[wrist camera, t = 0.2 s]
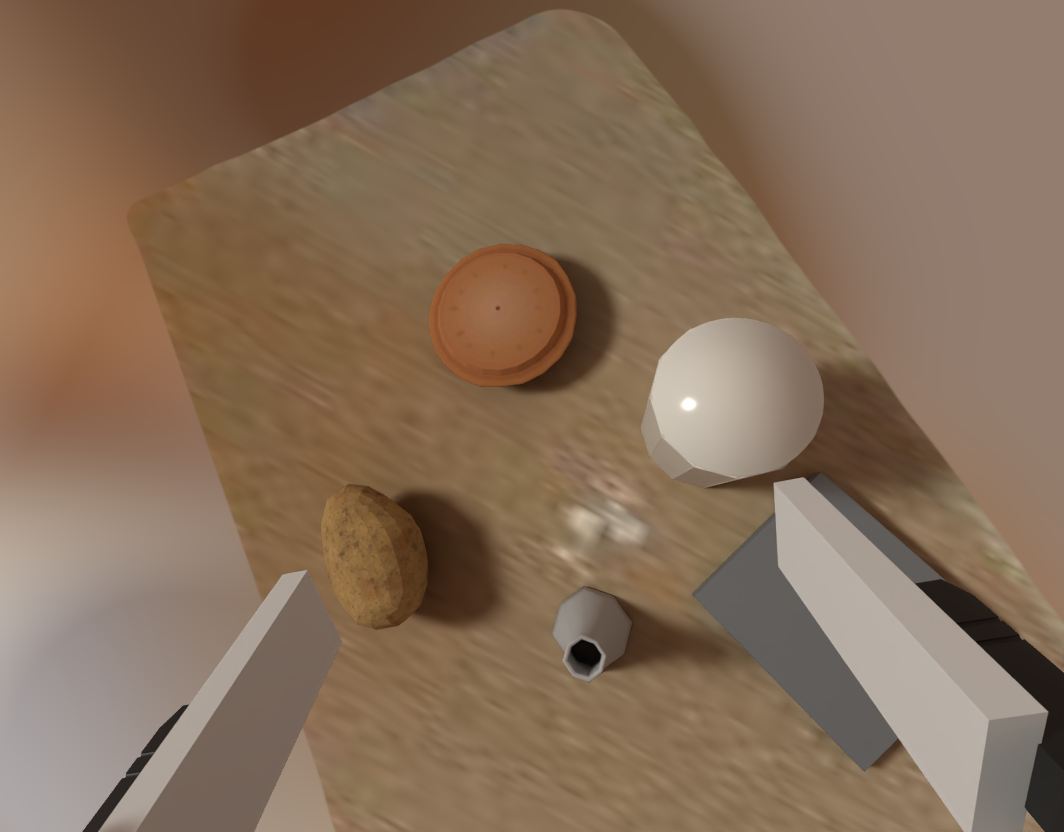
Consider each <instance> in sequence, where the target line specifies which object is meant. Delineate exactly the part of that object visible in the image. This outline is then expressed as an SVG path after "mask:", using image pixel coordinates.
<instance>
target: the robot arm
mask: <svg viewBox="0 0 1064 832" xmlns="http://www.w3.org/2000/svg"><path fill="white" fill-rule="evenodd" d="M774 498H775V516H776V535H777V553H778V567H779V568H780V570H781V571H782V573H783V574H784V575H785V577H786V578H787V580H788V581H789V583H790V584H791V585H792V587H793V588H794V590H795V591H796V593H797V594H798V595H799V597H800V598H801V600H802V601H803V603H804V604H805V605H806V607H807V608H808V610H809V611H810V613H811V614H812V615H813V617H814V618H815V620H816V621H817V623H818V624H819V625H820V627H821V628H822V630H823V631H824V633H825V634H826V635H827V637H828V638H829V640H830V641H831V643H832V644H833V645H834V647H835V648H836V650H837V651H838V653H839V654H840V655H841V657H842V658H843V660H844V661H845V663H846V664H847V665H848V667H849V668H850V670H851V671H852V673H853V674H854V675H855V677H856V678H857V680H858V681H859V683H860V684H861V685H862V687H863V688H864V690H865V691H866V693H867V694H868V695H869V697H870V698H871V700H872V701H873V703H874V704H875V705H876V707H877V708H878V710H879V711H880V713H881V714H882V715H883V717H884V718H885V720H886V721H887V723H888V724H889V725H890V727H891V728H892V730H893V731H894V733H895V734H896V735H897V737H898V738H899V740H900V741H901V743H902V744H903V745H904V747H905V748H906V750H907V751H908V753H909V754H910V755H911V757H912V758H913V760H914V761H915V763H916V764H917V765H918V767H919V768H920V770H921V771H922V773H923V774H924V775H925V777H926V778H927V780H928V781H929V783H930V784H931V785H932V787H933V788H934V790H935V791H936V793H937V794H938V795H939V797H940V798H941V800H942V801H943V803H944V804H945V805H946V807H947V808H948V810H949V811H950V813H951V814H952V815H953V817H954V818H955V820H956V821H957V823H958V824H959V825H960V827H961V828H962V830H963V831H964V832H1022V830H1023V825H1024V821H1025V816H1026V811H1028V812H1029V813H1030V814H1031V816H1032V817H1033V818H1034V819H1035V820H1036V822H1037V823H1038V824H1039V825H1040V826H1041V828H1042V829H1043V830H1044V831H1045V832H1064V673H1063V672H1062V671H1061V670H1060V669H1059V668H1058V667H1056V666H1055V665H1054V664H1053V663H1052V662H1051V661H1049V660H1048V659H1047V658H1046V657H1045V656H1044V655H1042V654H1041V653H1040V652H1039V651H1038V650H1037V649H1035V648H1034V647H1033V646H1032V645H1031V644H1029V643H1028V642H1027V641H1026V640H1025V639H1024V640H1022V639H1021V638H1020V636H1019V634H1018V633H1017V632H1015V631H1014V630H1013V629H1012V628H1011V627H1010V626H1008V625H1007V624H1006V623H1005V622H1004V621H1000V620H999V618H998V616H997V615H996V614H994V613H993V612H992V611H991V610H990V609H989V608H987V607H986V606H985V605H984V604H983V603H982V602H980V601H979V600H978V599H977V598H976V597H975V596H973V595H972V594H970V593H968V592H966V591H964V590H962V589H960V588H958V587H956V586H954V585H952V584H950V583H948V582H946V581H944V580H942V579H938V580H932V581H926V582H920V583H913V582H912V581H911V580H910V579H909V578H908V577H907V576H906V575H905V574H904V573H903V572H902V571H901V570H900V569H899V568H898V567H897V566H896V565H895V564H894V563H892V562H891V561H890V560H889V559H888V558H887V557H886V556H885V555H884V554H883V553H882V552H881V551H880V550H879V549H878V548H877V547H876V546H875V545H874V544H873V543H872V542H871V541H870V540H868V539H867V538H866V537H865V536H864V535H863V534H862V533H861V532H860V531H859V530H858V529H857V528H856V527H855V526H854V525H853V524H852V523H851V522H850V521H849V520H848V519H847V518H846V517H844V516H843V515H842V514H841V513H840V512H839V511H838V510H837V509H836V508H835V507H834V506H833V505H832V504H831V503H830V502H829V501H828V500H827V499H826V498H825V497H824V496H823V495H822V494H820V493H819V492H818V491H817V490H816V489H815V488H814V487H813V486H812V485H811V484H810V483H809V482H808V481H807V480H806V479H805V478H804V477H802V478H797V479H791V480H786V481H781V482H775V483H774ZM341 643H342V640H341V638H340V636H339V634H338V632H337V630H336V628H335V626H334V624H333V622H332V620H331V618H330V616H329V613H328V611H327V609H326V607H325V605H324V603H323V601H322V599H321V597H320V595H319V593H318V591H317V589H316V586H315V584H314V582H313V580H312V578H311V576H310V574H309V572H308V570H305V571H300V572H294V573H289V574H284V575H282V576H281V578H280V579H279V581H278V582H277V583H276V585H275V586H274V588H273V589H272V590H271V592H270V593H269V594H268V596H267V597H266V599H265V600H264V601H263V603H262V604H261V606H260V607H259V608H258V610H257V611H256V613H255V614H254V615H253V617H252V618H251V620H250V621H249V622H248V624H247V625H246V627H245V628H244V629H243V631H242V632H241V634H240V635H239V636H238V638H237V639H236V641H235V642H234V643H233V645H232V646H231V648H230V649H229V650H228V652H227V653H226V654H225V656H224V657H223V659H222V660H221V661H220V663H219V664H218V666H217V667H216V668H215V670H214V671H213V672H212V674H211V676H210V677H209V678H208V679H207V681H206V682H205V684H204V685H203V686H202V688H201V689H200V691H199V692H198V693H197V695H196V696H195V698H194V699H193V700H192V702H191V703H190V704H189V705H184V706H182V707H181V708H180V709H179V710H178V711H177V712H176V713H175V714H174V715H173V716H172V717H171V718H170V719H169V720H168V721H167V722H165V723H164V724H163V725H162V726H161V727H160V728H159V729H158V731H157V732H156V734H155V735H154V736H153V738H152V739H151V740H150V742H149V743H148V744H147V746H146V747H145V748H144V750H143V751H142V753H141V754H142V755H141V757H139V758H137V759H136V761H135V762H134V763H133V764H132V766H131V767H130V768H129V770H128V771H127V773H126V777H125V778H122V779H121V781H120V782H119V783H118V785H117V786H116V787H115V789H114V790H113V791H112V793H111V794H110V795H109V797H108V798H107V800H106V801H105V802H104V803H103V805H102V806H101V808H100V809H99V810H98V812H97V813H96V814H95V816H94V817H93V818H92V820H91V821H90V822H89V824H88V825H87V826H86V828H85V829H84V830H83V832H254V831H255V829H256V826H257V824H258V822H259V820H260V818H261V816H262V813H263V811H264V808H265V807H266V805H267V803H268V800H269V798H270V796H271V794H272V792H273V789H274V787H275V785H276V783H277V781H278V779H279V777H280V775H281V772H282V770H283V768H284V766H285V764H286V762H287V759H288V757H289V755H290V753H291V751H292V748H293V746H294V744H295V742H296V740H297V738H298V735H299V733H300V731H301V729H302V727H303V725H304V723H305V720H306V718H307V716H308V714H309V712H310V710H311V708H312V705H313V703H314V701H315V699H316V697H317V695H318V692H319V690H320V688H321V686H322V684H323V682H324V679H325V677H326V675H327V673H328V671H329V669H330V666H331V664H332V662H333V660H334V658H335V656H336V654H337V651H338V649H339V647H340V645H341Z"/></svg>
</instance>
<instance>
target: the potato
mask: <svg viewBox="0 0 1064 832" xmlns="http://www.w3.org/2000/svg"><path fill="white" fill-rule="evenodd" d="M321 529H322V544H323V551H324V558H325V563H326V567H327V572H328V577H329V580H330V583H331V586H332V589H333V592H334V595H335V596H336V598H337V599H338V600H339V602H340V603H341V605H342V606H343V607H344V609H345V610H346V611H347V612H348V614H349V615H350V616H351V617H352V618H353V619H354V621H355V622H356V623H357V624H359V625H362V626H365V627H369V628H372V629H375V630H377V629H383V628H388V627H394V626H398V625H400V624H401V623H403V622H404V621H405V620H406V619H407V618H408V617H409V616H410V615H411V614H412V613H413V612H414V611H415V610H417V608H418V607H419V606H420V605H421V604H422V601H423V597H424V594H425V591H426V587H427V575H428V559H427V553H426V548H425V544H424V540H423V537H422V533H421V530H420V528H419V527H418V526H417V524H416V523H415V521H414V519H413V517H412V516H411V515H410V514H409V513H408V512H406V511H405V510H404V509H402V508H401V507H400V506H398V505H397V504H396V503H394V502H393V501H392V500H391V499H389V498H388V497H387V496H385V495H384V494H382V493H380V492H378V491H376V490H374V489H372V488H370V487H369V486H362V485H353V484H348V485H347V486H345V487H344V488H342V489H341V490H339V491H338V492H337V493H335V494H334V495H332V496H331V497H329V498H328V500H327V503H326V507H325V510H324V514H323V517H322V521H321Z"/></svg>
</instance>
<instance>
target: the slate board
mask: <svg viewBox="0 0 1064 832" xmlns="http://www.w3.org/2000/svg"><path fill="white" fill-rule="evenodd" d="M807 481H808V482H809V483H810V484H811V485H812V486H813V487H814V488H815V489H816V490H817V491H818V492H819V493H820V494H822V495H823V496H824V497H825V498H826V499H827V500H828V501H829V502H830V503H831V504H832V505H833V506H834V507H835V508H836V509H837V510H838V511H839V512H840V513H841V514H842V515H843V516H844V517H846V518H847V519H848V520H849V521H850V522H851V523H852V524H853V525H854V526H855V527H856V528H857V529H858V530H859V531H860V532H861V533H862V534H863V535H864V536H865V537H866V538H867V539H868V540H870V541H871V542H872V543H873V544H874V545H875V546H876V547H877V548H878V549H879V550H880V551H881V552H882V553H883V554H884V555H885V556H886V557H887V558H888V559H889V560H890V561H891V562H892V563H894V564H895V565H896V566H897V567H898V568H899V569H900V570H901V571H902V572H903V573H904V574H905V575H906V576H907V577H908V578H909V579H910V580H911V581H912V582H913V583H920V582H926V581H932V580H938V579H942V580H944V581H946V580H945V579H944V578H942V577H941V576H940V575H939V574H938V573H937V572H936V571H934V570H933V569H932V568H931V567H930V566H929V565H927V564H926V563H925V562H924V561H923V560H922V559H921V558H919V557H918V556H917V555H916V554H915V553H914V552H913V551H911V550H910V549H909V548H908V547H907V546H906V545H905V544H903V543H902V542H901V541H900V540H899V539H898V538H897V537H895V536H894V535H893V534H892V533H891V532H890V531H889V530H887V529H886V528H885V527H884V526H883V525H882V524H881V523H879V522H878V521H877V520H876V519H875V518H874V517H872V516H871V515H870V514H869V513H868V512H867V511H866V510H864V509H863V508H862V507H861V506H860V505H859V504H858V503H856V502H855V501H854V500H853V499H852V498H851V497H850V496H848V495H847V494H846V493H845V492H844V491H843V490H842V489H840V488H839V487H838V486H837V485H836V484H835V483H834V482H832V481H831V480H830V479H829V478H828V477H827V476H825V475H824V474H823V473H822V472H818V473H814V474H813V475H812V476H811V477H810V478H809V479H808V480H807ZM946 582H947V581H946ZM692 595H693V596H694V597H695V598H696V599H697V600H698V601H699V602H700V603H701V604H702V605H703V606H704V607H705V608H706V609H707V610H708V611H709V612H710V614H711V615H712V616H713V617H714V618H715V619H716V620H717V621H718V622H719V623H720V624H721V625H722V626H723V627H724V628H725V629H726V630H727V631H728V632H729V633H730V634H731V635H732V636H733V637H734V638H735V639H736V640H737V641H738V642H739V643H740V644H741V645H742V646H743V647H744V649H745V650H746V651H747V652H748V653H749V654H750V655H751V656H752V657H753V658H754V659H755V660H756V661H757V662H758V663H759V664H760V665H761V666H762V667H763V668H764V669H765V670H766V671H767V672H768V673H769V674H770V675H771V676H772V677H773V678H774V679H775V680H776V681H777V682H778V684H779V685H780V686H781V687H782V688H783V689H784V690H785V691H786V692H787V693H788V694H789V695H790V696H791V697H792V698H793V699H794V700H795V701H796V702H797V703H798V704H799V705H800V706H801V707H802V708H803V709H804V710H805V711H806V712H807V713H808V714H809V715H810V716H811V717H812V719H813V720H814V721H815V722H816V723H817V724H818V725H819V726H820V727H821V728H822V729H823V730H824V731H825V732H826V733H827V734H828V735H829V736H830V737H831V738H832V739H833V740H834V741H835V742H836V743H837V744H838V745H839V746H840V747H841V748H842V749H843V750H844V751H845V753H846V754H847V755H848V756H849V757H850V758H851V759H852V760H853V761H854V762H855V763H856V764H857V765H858V766H859V767H860V768H861V769H862V770H863V771H864V772H865V771H866V770H867V769H868V768H869V767H870V766H871V765H872V764H873V763H874V762H875V761H876V760H877V759H878V758H879V757H880V756H881V755H882V754H883V753H884V752H885V751H886V750H887V749H888V748H889V747H890V746H891V745H892V744H893V743H894V742H895V741H896V740H897V739H898V737H897V735H896V734H895V733H894V731H893V730H892V728H891V727H890V725H889V724H888V723H887V721H886V720H885V718H884V717H883V715H882V714H881V713H880V711H879V710H878V708H877V707H876V705H875V704H874V703H873V701H872V700H871V698H870V697H869V695H868V694H867V693H866V691H865V690H864V688H863V687H862V685H861V684H860V683H859V681H858V680H857V678H856V677H855V675H854V674H853V673H852V671H851V670H850V668H849V667H848V665H847V664H846V663H845V661H844V660H843V658H842V657H841V655H840V654H839V653H838V651H837V650H836V648H835V647H834V645H833V644H832V643H831V641H830V640H829V638H828V637H827V635H826V634H825V633H824V631H823V630H822V628H821V627H820V625H819V624H818V623H817V621H816V620H815V618H814V617H813V615H812V614H811V613H810V611H809V610H808V608H807V607H806V605H805V604H804V603H803V601H802V600H801V598H800V597H799V595H798V594H797V593H796V591H795V590H794V588H793V587H792V585H791V584H790V583H789V581H788V580H787V578H786V577H785V575H784V574H783V573H782V571H781V570H780V568H779V567H778V553H777V535H776V516H775V513H774V514H773V515H772V516H771V517H770V518H769V519H768V520H767V521H766V522H765V523H764V524H763V525H762V526H760V527H759V528H758V529H757V530H756V531H755V532H754V533H753V534H752V535H751V536H750V537H749V538H748V539H747V540H746V541H745V542H744V543H743V544H742V545H741V546H740V547H739V548H738V549H737V550H736V551H735V552H734V553H733V554H732V555H731V556H730V557H729V558H728V559H727V560H726V561H725V562H724V563H723V564H722V565H721V566H720V567H719V568H718V569H717V570H716V571H715V572H714V573H713V574H712V575H711V576H710V577H709V578H708V579H707V580H706V581H705V582H704V583H703V584H702V585H701V586H700V587H699V588H698V589H696V590H695V591H694V592H693V593H692Z"/></svg>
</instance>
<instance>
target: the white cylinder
mask: <svg viewBox="0 0 1064 832" xmlns="http://www.w3.org/2000/svg"><path fill="white" fill-rule="evenodd" d="M823 408H824V391H823V385H822V380H821V377H820V374H819V371H818V369H817V367H816V365H815V363H814V361H813V360H812V358H811V357H810V355H809V354H808V352H807V351H806V350H805V349H804V348H803V346H802V345H801V344H799V343H798V342H797V341H796V340H795V339H794V338H793V337H791V336H790V335H788V334H787V333H786V332H784V331H782V330H780V329H779V328H777V327H775V326H772V325H770V324H767V323H765V322H761V321H757V320H753V319H745V318H727V319H719V320H715V321H710V322H707V323H705V324H702V325H700V326H697V327H695V328H693V329H689V330H688V331H687V332H686V333H685V334H684V335H683V336H681V337H680V338H679V339H678V340H677V341H676V342H675V343H674V344H673V345H672V346H671V347H670V348H669V349H668V351H667V352H666V353H665V354H664V355H663V356H662V357H661V358H660V359H659V362H658V366H657V370H656V373H655V377H654V381H653V384H652V388H651V391H650V395H649V399H648V404H647V407H646V411H645V415H644V418H643V422H642V425H641V430H642V433H643V436H644V440H645V443H646V447H647V450H648V454H649V457H650V458H651V459H652V460H653V461H654V462H655V463H656V464H657V465H658V466H659V467H660V468H661V469H662V470H663V471H664V472H665V473H666V474H668V475H669V476H670V477H671V478H672V479H674V480H677V481H681V482H684V483H688V484H692V485H695V486H699V487H703V488H706V487H710V486H715V485H719V484H723V483H727V482H731V481H735V480H739V479H743V478H748V477H752V476H756V475H760V474H764V473H768V472H772V471H776V470H780V469H783V468H784V467H785V466H786V465H787V464H788V463H789V462H790V461H791V460H793V459H794V458H795V457H796V456H798V455H799V454H800V453H801V452H802V451H803V450H804V449H805V448H806V447H807V446H808V444H809V443H810V442H811V441H812V440H813V439H814V438H815V435H816V431H817V429H818V427H819V425H820V422H821V418H822V415H823Z"/></svg>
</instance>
